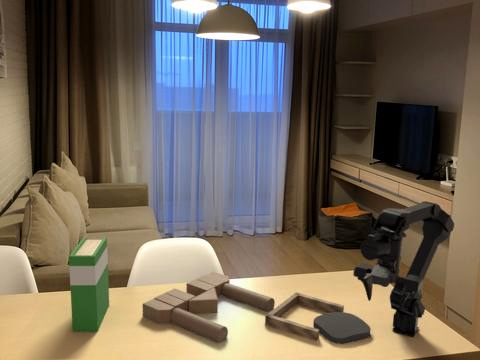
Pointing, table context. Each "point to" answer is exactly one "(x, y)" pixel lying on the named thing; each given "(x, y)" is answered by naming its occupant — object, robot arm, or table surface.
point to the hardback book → (89, 284)
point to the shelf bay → (296, 328)
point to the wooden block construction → (201, 304)
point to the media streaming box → (342, 327)
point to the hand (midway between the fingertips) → (384, 304)
